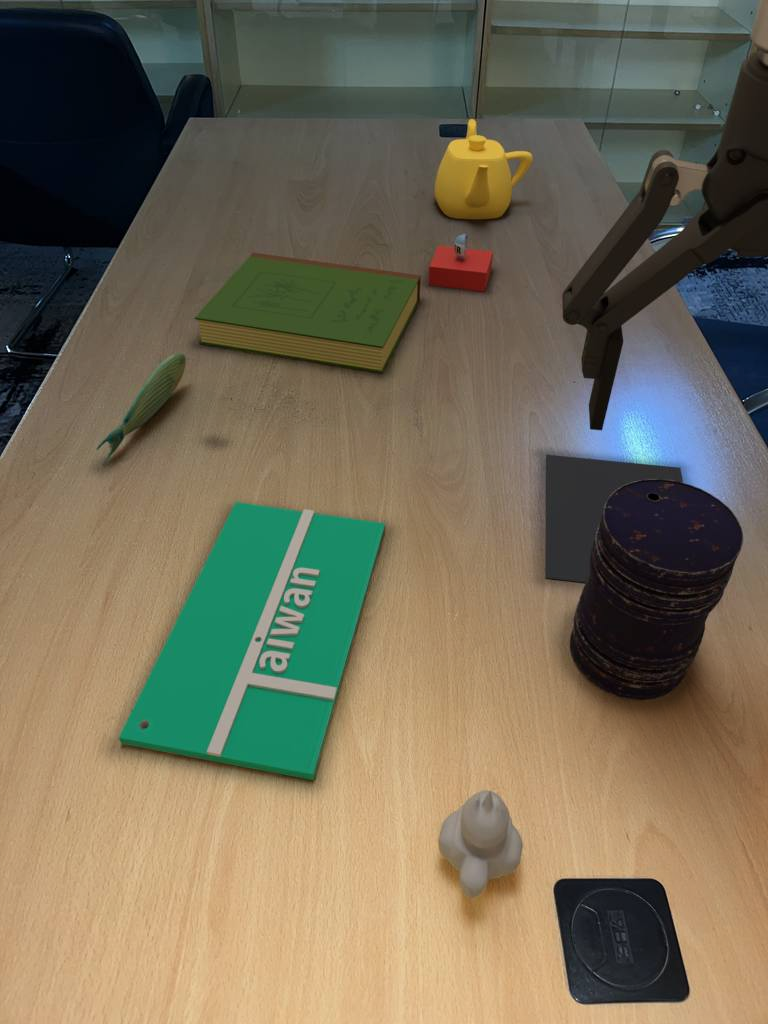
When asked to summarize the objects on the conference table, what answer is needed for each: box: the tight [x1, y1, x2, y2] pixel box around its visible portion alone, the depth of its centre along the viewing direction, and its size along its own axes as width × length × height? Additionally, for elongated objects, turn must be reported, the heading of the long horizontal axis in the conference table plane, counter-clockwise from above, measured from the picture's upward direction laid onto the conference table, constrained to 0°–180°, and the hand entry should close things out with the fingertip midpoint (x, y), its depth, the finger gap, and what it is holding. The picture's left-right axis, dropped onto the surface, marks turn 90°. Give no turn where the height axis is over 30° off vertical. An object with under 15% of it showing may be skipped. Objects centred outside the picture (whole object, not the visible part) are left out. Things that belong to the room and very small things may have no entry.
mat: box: [544, 454, 684, 584], centre depth 79 cm, size 18×14×1 cm
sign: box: [118, 501, 386, 781], centre depth 69 cm, size 27×1×15 cm
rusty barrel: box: [569, 479, 744, 701], centre depth 62 cm, size 10×10×15 cm
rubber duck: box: [437, 789, 524, 899], centre depth 52 cm, size 5×7×8 cm
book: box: [194, 252, 422, 374], centre depth 105 cm, size 25×19×4 cm
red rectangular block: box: [428, 233, 494, 292], centre depth 114 cm, size 8×7×6 cm
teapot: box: [433, 118, 534, 220], centre depth 131 cm, size 22×16×11 cm
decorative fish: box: [96, 352, 219, 466], centre depth 88 cm, size 7×18×10 cm
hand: (702, 428), depth 52 cm, fingers open, 13 cm apart
